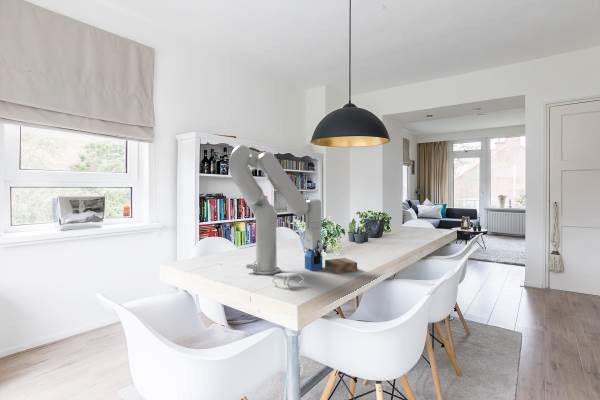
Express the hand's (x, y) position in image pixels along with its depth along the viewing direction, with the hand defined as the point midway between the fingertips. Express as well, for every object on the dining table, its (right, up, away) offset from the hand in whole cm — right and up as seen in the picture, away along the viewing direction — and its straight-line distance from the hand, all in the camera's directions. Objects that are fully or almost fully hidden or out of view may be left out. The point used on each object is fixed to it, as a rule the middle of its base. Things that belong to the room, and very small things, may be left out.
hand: (313, 262), depth 159 cm
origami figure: (-11, -5, -27) cm, 30 cm away
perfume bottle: (0, -3, 0) cm, 3 cm away
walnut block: (+13, -3, -2) cm, 13 cm away
